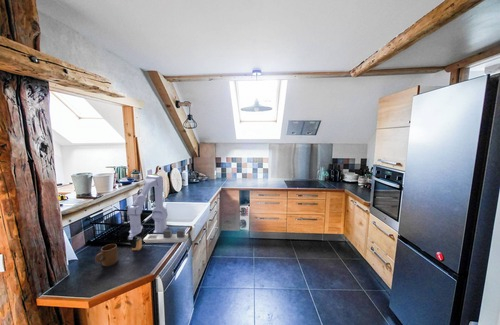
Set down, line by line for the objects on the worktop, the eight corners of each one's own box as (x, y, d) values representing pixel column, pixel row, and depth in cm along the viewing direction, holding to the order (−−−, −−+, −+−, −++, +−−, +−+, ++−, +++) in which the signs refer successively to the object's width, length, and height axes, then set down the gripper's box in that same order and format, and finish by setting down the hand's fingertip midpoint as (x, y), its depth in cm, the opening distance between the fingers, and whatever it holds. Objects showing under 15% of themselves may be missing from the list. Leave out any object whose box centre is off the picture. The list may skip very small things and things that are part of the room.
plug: (134, 247, 131) (134, 237, 130) (142, 246, 132) (141, 236, 131) (132, 250, 128) (131, 239, 127) (139, 250, 128) (138, 239, 127)
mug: (102, 273, 107) (100, 256, 105) (90, 270, 108) (89, 254, 107) (121, 259, 118) (120, 244, 117) (110, 257, 120) (109, 242, 119)
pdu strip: (147, 237, 143) (147, 228, 142) (188, 237, 145) (187, 227, 144) (143, 243, 136) (142, 233, 135) (185, 242, 138) (185, 232, 137)
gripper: (134, 219, 134) (135, 238, 136) (122, 229, 120) (124, 251, 122) (145, 219, 135) (146, 238, 137) (135, 229, 121) (136, 250, 122)
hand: (136, 244), depth 129 cm, fingers open, 7 cm apart
